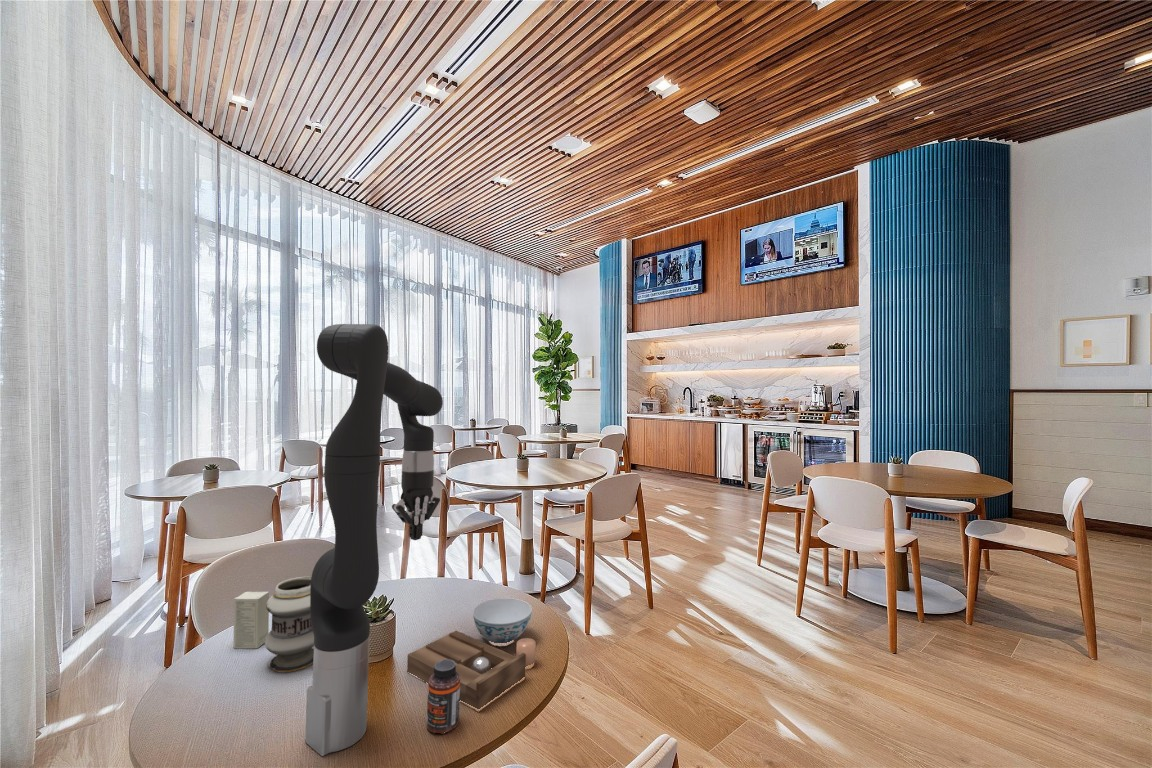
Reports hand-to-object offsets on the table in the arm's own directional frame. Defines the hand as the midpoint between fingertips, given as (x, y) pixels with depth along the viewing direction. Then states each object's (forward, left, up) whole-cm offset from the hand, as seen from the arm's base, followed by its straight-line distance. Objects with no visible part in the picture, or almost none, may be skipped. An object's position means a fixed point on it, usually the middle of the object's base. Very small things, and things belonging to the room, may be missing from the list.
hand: (415, 539), depth 117 cm
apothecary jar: (-19, +18, -27) cm, 38 cm away
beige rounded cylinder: (+12, -26, -27) cm, 39 cm away
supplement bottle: (-13, -27, -27) cm, 40 cm away
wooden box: (0, -18, -27) cm, 32 cm away
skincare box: (-22, +34, -27) cm, 49 cm away
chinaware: (+17, -14, -27) cm, 35 cm away
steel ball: (+2, -22, -25) cm, 33 cm away
